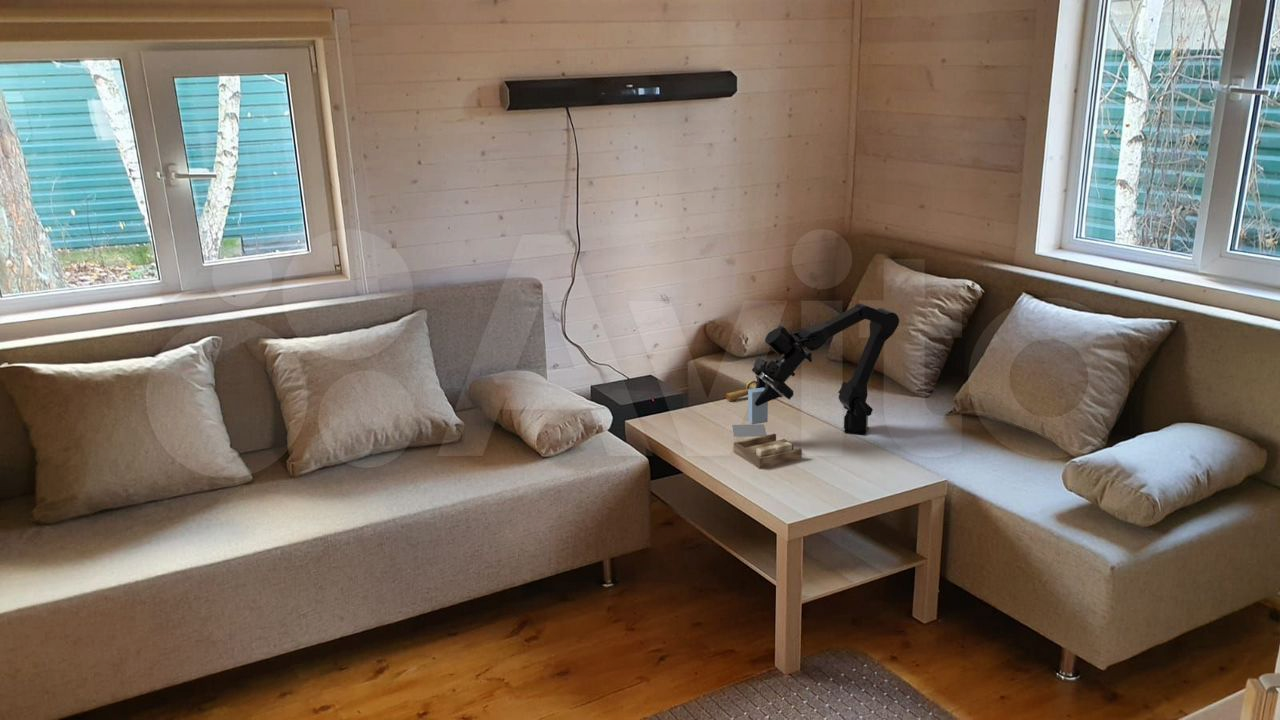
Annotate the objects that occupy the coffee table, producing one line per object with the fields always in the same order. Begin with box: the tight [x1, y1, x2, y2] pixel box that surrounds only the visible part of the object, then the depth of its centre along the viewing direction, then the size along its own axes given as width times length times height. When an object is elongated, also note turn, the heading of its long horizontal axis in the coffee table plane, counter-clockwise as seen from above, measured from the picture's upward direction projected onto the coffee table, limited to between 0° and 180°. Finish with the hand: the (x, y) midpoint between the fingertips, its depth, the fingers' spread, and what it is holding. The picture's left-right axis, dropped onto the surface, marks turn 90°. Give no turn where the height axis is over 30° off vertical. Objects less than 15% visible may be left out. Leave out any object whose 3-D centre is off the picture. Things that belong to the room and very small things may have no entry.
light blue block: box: [747, 388, 769, 425], centre depth 285 cm, size 5×3×10 cm, turn 107°
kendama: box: [725, 379, 771, 402], centre depth 329 cm, size 8×6×18 cm
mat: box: [731, 423, 767, 438], centre depth 299 cm, size 10×10×1 cm
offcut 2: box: [773, 441, 793, 454], centre depth 276 cm, size 5×2×4 cm, turn 116°
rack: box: [733, 433, 803, 470], centre depth 279 cm, size 14×14×4 cm
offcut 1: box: [756, 446, 775, 457], centre depth 274 cm, size 5×2×4 cm, turn 116°
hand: (753, 403), depth 285 cm, fingers closed on light blue block, 3 cm apart
